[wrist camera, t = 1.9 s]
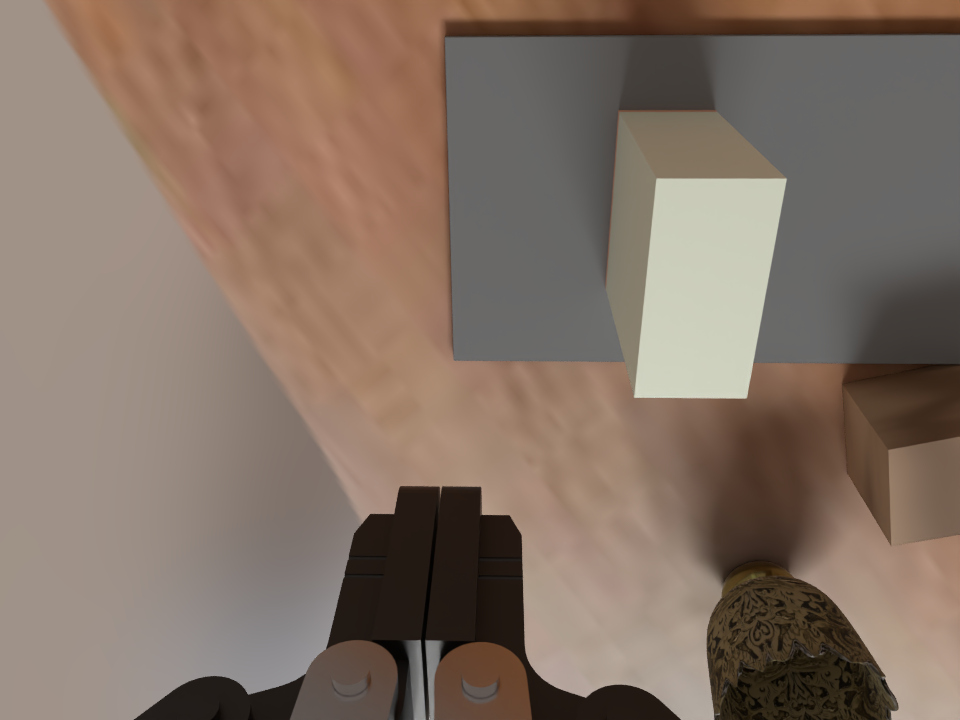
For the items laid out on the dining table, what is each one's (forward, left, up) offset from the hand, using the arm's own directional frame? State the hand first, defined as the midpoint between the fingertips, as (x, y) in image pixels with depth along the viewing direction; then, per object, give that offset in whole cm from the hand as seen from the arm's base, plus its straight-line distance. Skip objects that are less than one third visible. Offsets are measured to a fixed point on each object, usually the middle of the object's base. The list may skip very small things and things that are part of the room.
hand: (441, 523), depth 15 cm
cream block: (-7, 0, -19) cm, 20 cm away
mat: (-10, +1, -19) cm, 21 cm away
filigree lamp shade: (-14, +20, -19) cm, 31 cm away
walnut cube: (-19, +10, -19) cm, 29 cm away
